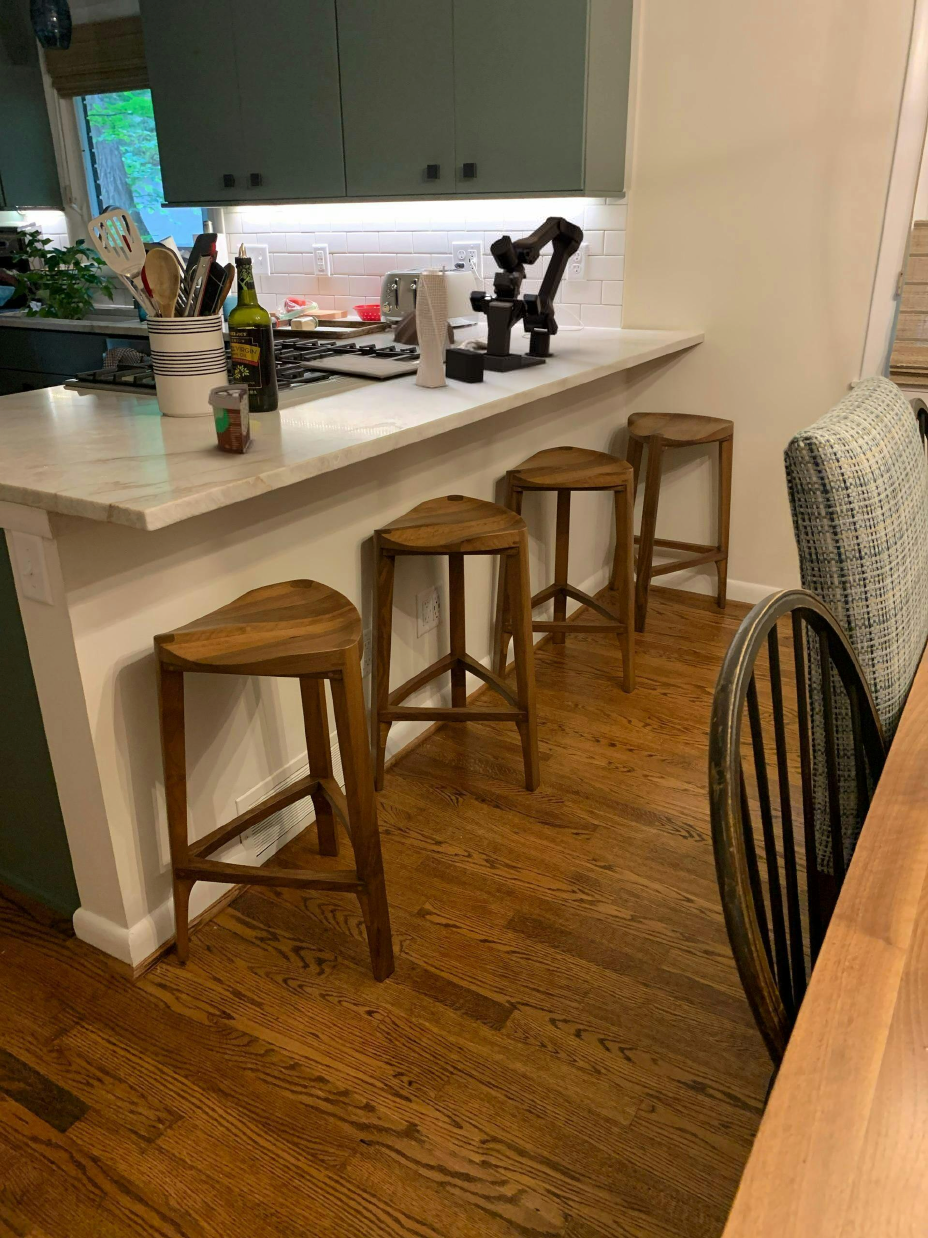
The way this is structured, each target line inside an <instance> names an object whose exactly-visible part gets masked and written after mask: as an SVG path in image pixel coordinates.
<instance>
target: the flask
mask: <svg viewBox="0 0 928 1238" xmlns="http://www.w3.org/2000/svg"><path fill="white" fill-rule="evenodd" d="M448 326H449V324H448V323H447V329H446V334H445V339H444V344H443V348H442V351H441V353H442V359H443V363H445V360H446V349H452V346H451V345H452V344H450V341H449V338H448Z"/></svg>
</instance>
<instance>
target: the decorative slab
mask: <svg viewBox="0 0 928 1238" xmlns="http://www.w3.org/2000/svg"><path fill="white" fill-rule="evenodd" d="M299 366H300V367H301V368H304V369H305V368H306V369H314V370H322V371H333V372H339V373H346V374H353V375H361V376H367V377H376V378H380V379H384V378H388V377H393V376H396V375H401V374H406V373H410V372H411V373H412V372H415V371H418V366H419V363H416V362H415V363H414V362H408V361H407V362H406V361H402V360H401V361H400V360H393V359H384V358H376V357H370V356H369V357H368V356H362V355H356V354H345V355H341V356H331V357H324V358H316V359H315V360H313V361H303V362H300V363H299Z"/></svg>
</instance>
